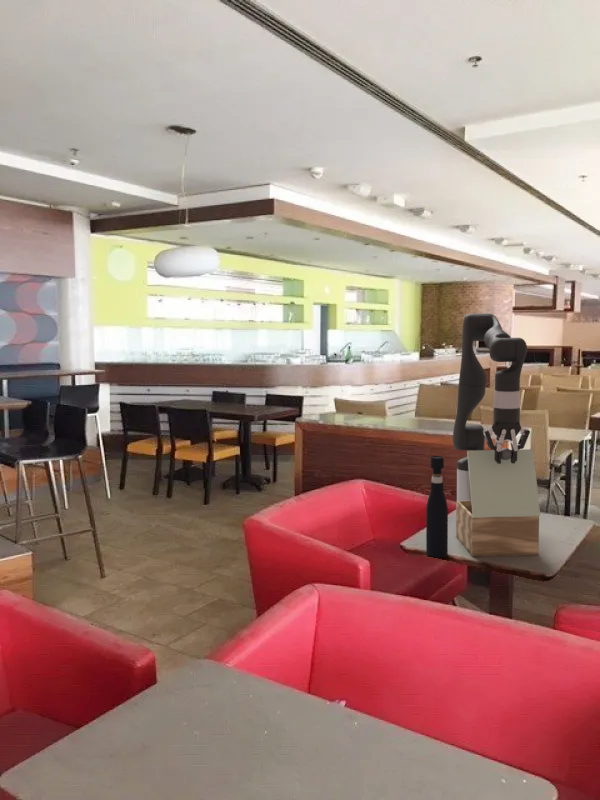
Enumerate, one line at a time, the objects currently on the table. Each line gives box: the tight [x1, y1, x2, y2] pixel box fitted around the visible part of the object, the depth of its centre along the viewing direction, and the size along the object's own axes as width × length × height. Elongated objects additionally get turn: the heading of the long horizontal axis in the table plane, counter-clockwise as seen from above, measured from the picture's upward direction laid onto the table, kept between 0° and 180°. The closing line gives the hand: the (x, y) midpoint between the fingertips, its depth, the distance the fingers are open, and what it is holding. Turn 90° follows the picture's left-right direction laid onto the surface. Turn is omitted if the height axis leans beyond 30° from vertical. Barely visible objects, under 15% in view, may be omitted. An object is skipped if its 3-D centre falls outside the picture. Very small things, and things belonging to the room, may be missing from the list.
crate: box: [455, 500, 540, 557], centre depth 217 cm, size 20×20×12 cm
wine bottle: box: [425, 455, 449, 559], centre depth 209 cm, size 6×6×30 cm
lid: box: [466, 447, 541, 517], centre depth 205 cm, size 20×20×7 cm
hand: (505, 462), depth 205 cm, fingers closed on lid, 3 cm apart
